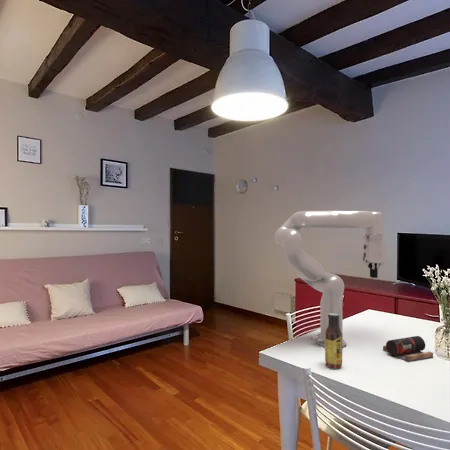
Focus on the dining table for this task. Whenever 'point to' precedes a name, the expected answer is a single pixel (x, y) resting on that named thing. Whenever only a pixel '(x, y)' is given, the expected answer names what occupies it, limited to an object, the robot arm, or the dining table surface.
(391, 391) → the dining table surface
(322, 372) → the dining table surface
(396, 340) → the deodorant
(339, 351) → the sauce bottle
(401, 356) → the mat
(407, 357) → the side rails
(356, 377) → the dining table surface
